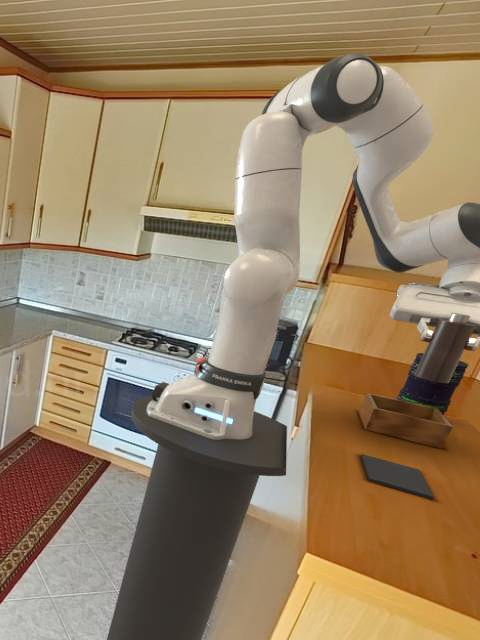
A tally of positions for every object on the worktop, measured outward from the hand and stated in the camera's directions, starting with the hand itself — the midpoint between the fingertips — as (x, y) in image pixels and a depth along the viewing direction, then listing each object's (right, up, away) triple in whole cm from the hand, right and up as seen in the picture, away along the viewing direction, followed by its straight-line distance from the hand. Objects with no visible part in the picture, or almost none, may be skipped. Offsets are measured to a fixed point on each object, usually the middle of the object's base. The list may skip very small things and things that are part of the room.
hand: (447, 344), depth 93 cm
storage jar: (+23, -16, +32) cm, 43 cm away
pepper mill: (0, -7, +3) cm, 7 cm away
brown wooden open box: (+8, -18, +20) cm, 29 cm away
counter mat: (-13, -25, -3) cm, 28 cm away
